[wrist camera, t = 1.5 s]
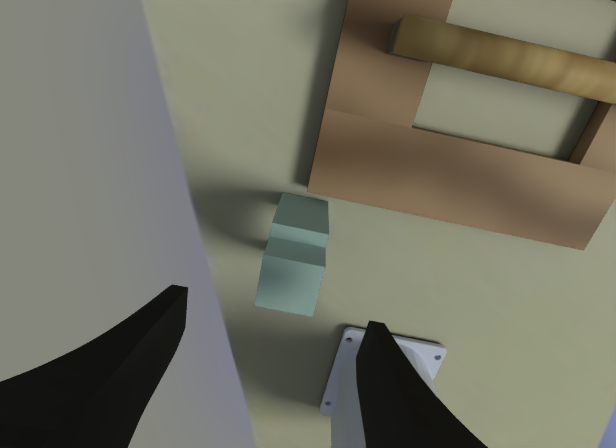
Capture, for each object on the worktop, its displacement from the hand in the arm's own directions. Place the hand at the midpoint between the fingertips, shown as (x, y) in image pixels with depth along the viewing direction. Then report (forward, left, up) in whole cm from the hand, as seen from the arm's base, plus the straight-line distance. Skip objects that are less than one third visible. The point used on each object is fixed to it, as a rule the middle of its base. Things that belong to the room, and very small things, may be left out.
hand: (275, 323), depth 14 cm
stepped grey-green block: (-1, 0, -10) cm, 10 cm away
